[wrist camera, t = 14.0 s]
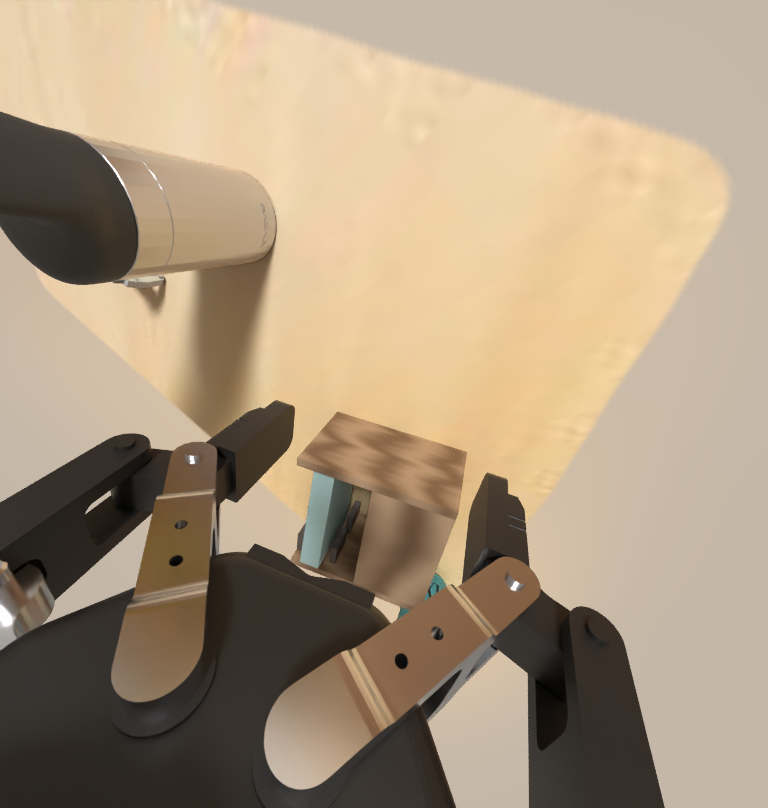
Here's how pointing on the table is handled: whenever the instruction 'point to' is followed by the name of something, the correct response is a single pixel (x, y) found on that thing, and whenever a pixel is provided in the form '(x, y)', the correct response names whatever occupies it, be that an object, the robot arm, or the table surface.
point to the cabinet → (387, 507)
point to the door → (324, 517)
